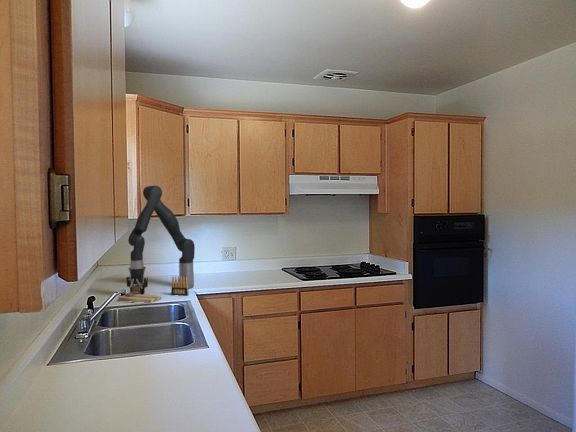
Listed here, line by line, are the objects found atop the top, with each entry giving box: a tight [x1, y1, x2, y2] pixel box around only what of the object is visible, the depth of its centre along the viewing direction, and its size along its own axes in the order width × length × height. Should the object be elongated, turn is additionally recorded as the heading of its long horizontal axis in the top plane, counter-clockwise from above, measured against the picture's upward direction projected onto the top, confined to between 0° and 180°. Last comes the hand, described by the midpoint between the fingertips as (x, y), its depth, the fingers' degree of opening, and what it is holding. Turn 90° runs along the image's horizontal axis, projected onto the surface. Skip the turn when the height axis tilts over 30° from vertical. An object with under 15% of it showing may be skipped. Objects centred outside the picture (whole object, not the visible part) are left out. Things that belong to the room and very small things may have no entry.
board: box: [117, 294, 162, 304], centre depth 235 cm, size 10×22×2 cm, turn 74°
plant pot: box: [128, 265, 147, 282], centre depth 283 cm, size 12×12×11 cm
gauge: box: [124, 284, 141, 296], centre depth 240 cm, size 12×5×8 cm, turn 165°
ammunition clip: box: [170, 275, 189, 297], centre depth 248 cm, size 11×2×12 cm, turn 82°
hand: (137, 294), depth 244 cm, fingers open, 6 cm apart
